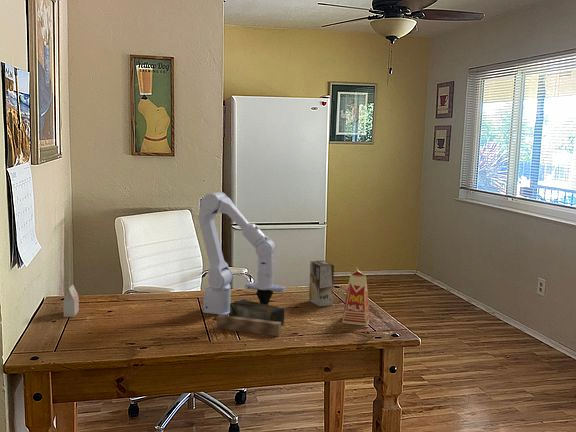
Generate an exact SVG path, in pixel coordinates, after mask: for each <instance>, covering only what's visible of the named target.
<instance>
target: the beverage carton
mask: <svg viewBox="0 0 576 432" xmlns="http://www.w3.org/2000/svg"><path fill="white" fill-rule="evenodd" d="M285 310H286V309H285V308H284V307H279V306H277V305H276V306H275V305H270V304H268V305H266V304H261V303H260V302H256V301H252V300H247V299H244V298H243V299H239V300H234V301H233V302H230V313H229V316H235V317H244V318H252V319H260V320H268V321H276V322H281V326H284V325H285V313H286V312H285Z"/></svg>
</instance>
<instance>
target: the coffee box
mask: <svg viewBox="0 0 576 432" xmlns="http://www.w3.org/2000/svg"><path fill="white" fill-rule="evenodd" d="M334 274H335V264H332V263H330V262H328V261H327V260H326V261H325V260H314V261H312V260H311V261H310V262H309V291H308V292H309V297H308V298H309V299H308V301H309V302H311V303H312V304H314V305H315V306H318V307H326V306H327V307H328V306H333V302H334V300H333V299H334V276H335V275H334Z"/></svg>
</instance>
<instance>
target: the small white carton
mask: <svg viewBox="0 0 576 432" xmlns="http://www.w3.org/2000/svg"><path fill="white" fill-rule="evenodd" d="M62 305H63V308H62V309H63V318H75V317H76V315H78V313H79V311H80V310H79V309H80V306H79V305H80V304H79V293H78V292H77V290H76V287H75V286H74V284H71V285H70V286H69V287H68V289H67V292H66V294H65V297H64V298H63V302H62Z"/></svg>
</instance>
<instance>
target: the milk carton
mask: <svg viewBox="0 0 576 432" xmlns="http://www.w3.org/2000/svg"><path fill="white" fill-rule="evenodd" d="M347 283H348V284H347V288H346V292H345V293H346V294H345V300H344V308H343V315H342V321H341V324H349V325H359V326H367V327H368V326H369V322H370V308H369V307H370V305H369V293H368V283H367V275H365V274H364V273H363V272H361V271H360V270H359V267H356V271H354V272H353V273H351V274H350V275H349V280H348V282H347Z"/></svg>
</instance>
